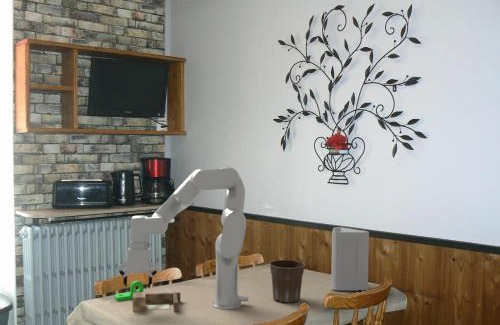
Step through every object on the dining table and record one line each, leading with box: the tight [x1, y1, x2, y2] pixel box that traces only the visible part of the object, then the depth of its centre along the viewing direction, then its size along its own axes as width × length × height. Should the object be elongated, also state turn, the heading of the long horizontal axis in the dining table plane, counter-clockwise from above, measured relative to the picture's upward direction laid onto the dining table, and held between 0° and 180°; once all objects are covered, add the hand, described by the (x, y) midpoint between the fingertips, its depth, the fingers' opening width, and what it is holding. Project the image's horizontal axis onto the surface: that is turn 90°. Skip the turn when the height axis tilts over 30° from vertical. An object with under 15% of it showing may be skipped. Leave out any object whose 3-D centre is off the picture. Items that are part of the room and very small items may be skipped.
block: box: [132, 291, 146, 312], centre depth 228 cm, size 5×8×6 cm, turn 10°
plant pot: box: [268, 259, 306, 304], centre depth 245 cm, size 16×16×16 cm
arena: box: [145, 291, 181, 313], centre depth 231 cm, size 16×16×4 cm
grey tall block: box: [330, 226, 370, 291], centre depth 267 cm, size 19×15×28 cm
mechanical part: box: [114, 280, 144, 302], centre depth 244 cm, size 12×6×8 cm, turn 121°
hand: (137, 286), depth 228 cm, fingers open, 9 cm apart
